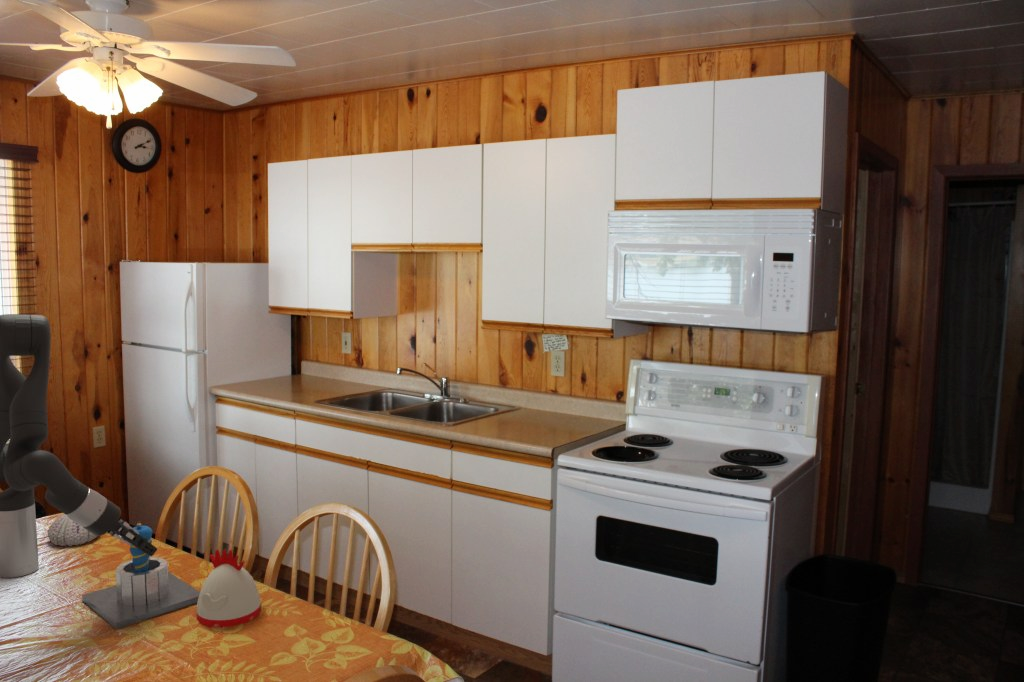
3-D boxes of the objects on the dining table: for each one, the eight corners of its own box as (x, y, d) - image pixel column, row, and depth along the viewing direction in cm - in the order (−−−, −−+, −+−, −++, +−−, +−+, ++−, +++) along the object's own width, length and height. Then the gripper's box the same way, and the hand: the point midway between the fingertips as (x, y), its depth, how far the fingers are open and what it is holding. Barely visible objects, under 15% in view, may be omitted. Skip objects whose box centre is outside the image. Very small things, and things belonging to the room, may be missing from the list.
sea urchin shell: (111, 533, 237) (110, 506, 236) (82, 550, 223) (81, 522, 222) (67, 531, 238) (66, 504, 237) (36, 548, 225) (35, 520, 224)
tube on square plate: (82, 601, 192) (80, 566, 191) (166, 576, 206) (165, 543, 205) (116, 629, 178) (114, 592, 177) (204, 600, 193) (203, 566, 192)
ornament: (158, 579, 194) (156, 517, 192) (146, 588, 189) (144, 525, 187) (137, 577, 194) (135, 516, 193) (125, 586, 189) (122, 524, 188)
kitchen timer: (218, 597, 195) (216, 536, 193) (271, 603, 192) (270, 541, 190) (184, 623, 181) (181, 558, 180) (240, 630, 179) (238, 564, 177)
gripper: (117, 504, 179) (173, 543, 189) (92, 490, 189) (146, 528, 199) (92, 533, 176) (151, 571, 186) (68, 518, 185) (125, 555, 195)
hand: (148, 549), depth 192 cm, fingers closed on ornament, 5 cm apart
